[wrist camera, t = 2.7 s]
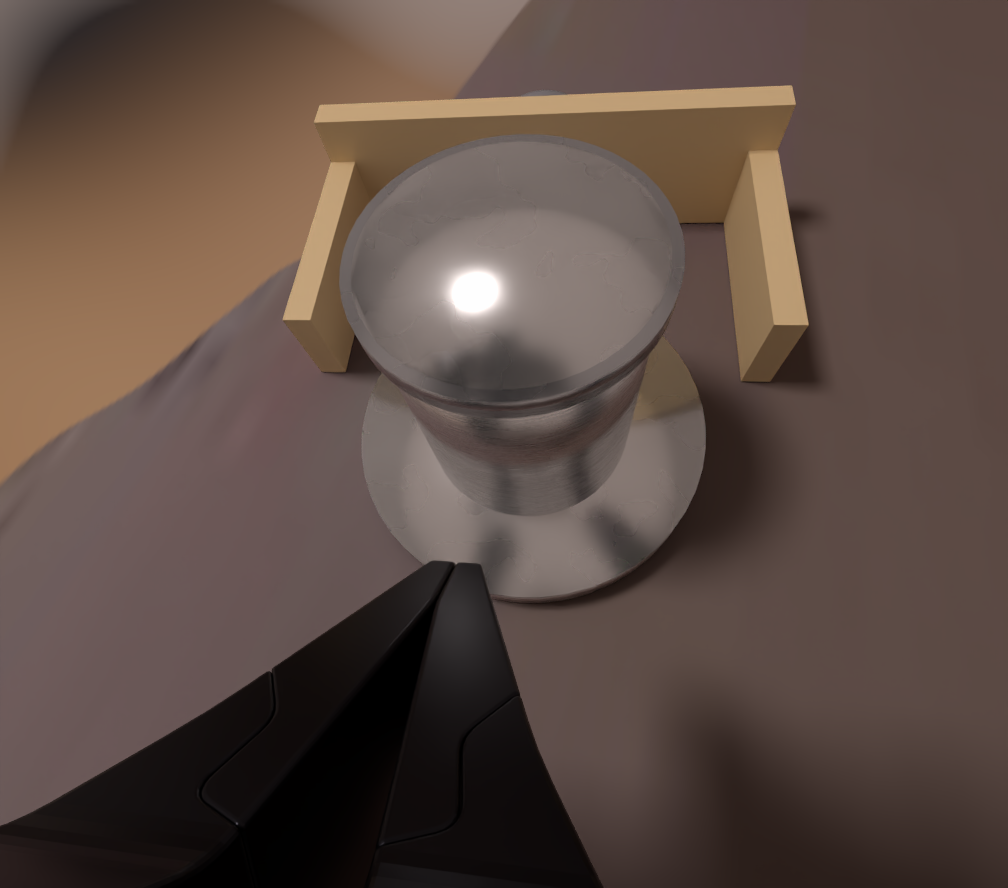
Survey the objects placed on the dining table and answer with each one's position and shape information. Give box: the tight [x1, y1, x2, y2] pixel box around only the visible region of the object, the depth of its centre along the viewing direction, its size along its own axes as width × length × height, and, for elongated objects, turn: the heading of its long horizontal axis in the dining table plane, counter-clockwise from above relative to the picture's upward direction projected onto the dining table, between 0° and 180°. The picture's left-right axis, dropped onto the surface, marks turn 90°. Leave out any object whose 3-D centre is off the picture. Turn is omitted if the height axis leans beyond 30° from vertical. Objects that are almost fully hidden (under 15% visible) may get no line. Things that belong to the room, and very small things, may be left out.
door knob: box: [339, 134, 706, 603], centre depth 18 cm, size 14×14×11 cm
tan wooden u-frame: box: [283, 86, 809, 382], centre depth 24 cm, size 11×20×6 cm, turn 85°
